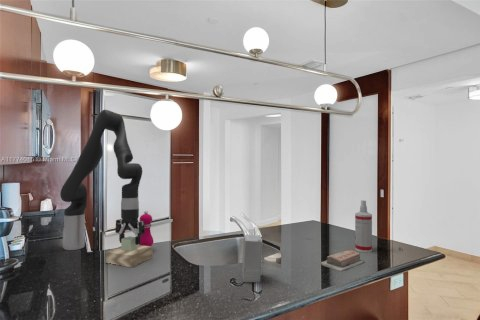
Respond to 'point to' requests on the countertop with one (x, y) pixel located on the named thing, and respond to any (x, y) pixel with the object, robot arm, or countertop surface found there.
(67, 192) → the robot arm
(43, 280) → the countertop surface
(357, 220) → the spray bottle
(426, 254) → the countertop surface
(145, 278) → the countertop surface
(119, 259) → the pedestal
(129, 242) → the cube
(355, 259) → the soap bar on dish
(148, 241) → the pepper mill
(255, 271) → the skincare box
